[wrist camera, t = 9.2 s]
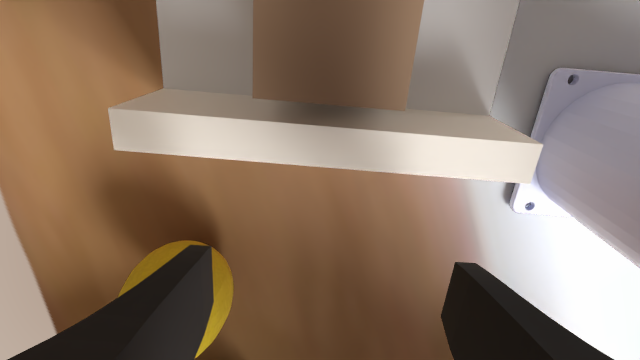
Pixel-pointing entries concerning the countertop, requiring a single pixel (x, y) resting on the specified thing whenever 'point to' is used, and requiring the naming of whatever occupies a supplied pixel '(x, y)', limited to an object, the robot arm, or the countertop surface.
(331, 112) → the white stand
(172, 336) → the robot arm
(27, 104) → the countertop surface
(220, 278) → the lemon
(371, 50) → the cabinet block
